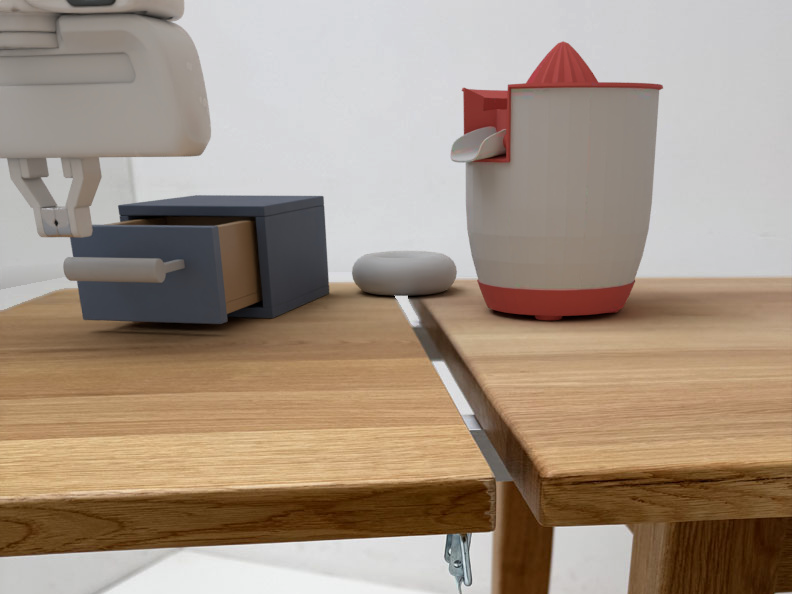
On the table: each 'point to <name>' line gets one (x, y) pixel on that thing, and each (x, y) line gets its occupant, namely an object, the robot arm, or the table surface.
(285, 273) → the cabinet
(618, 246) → the citrus juicer
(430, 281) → the donut
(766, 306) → the table surface
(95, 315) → the drawer
